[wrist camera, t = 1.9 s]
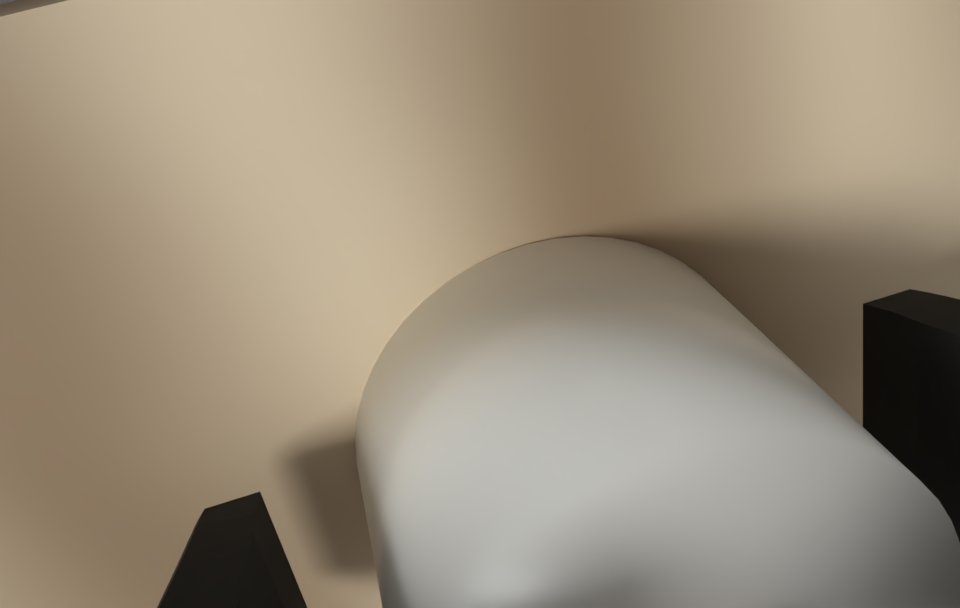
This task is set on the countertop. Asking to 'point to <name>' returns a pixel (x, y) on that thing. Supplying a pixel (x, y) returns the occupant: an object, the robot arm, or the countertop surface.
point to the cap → (626, 453)
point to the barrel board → (403, 227)
